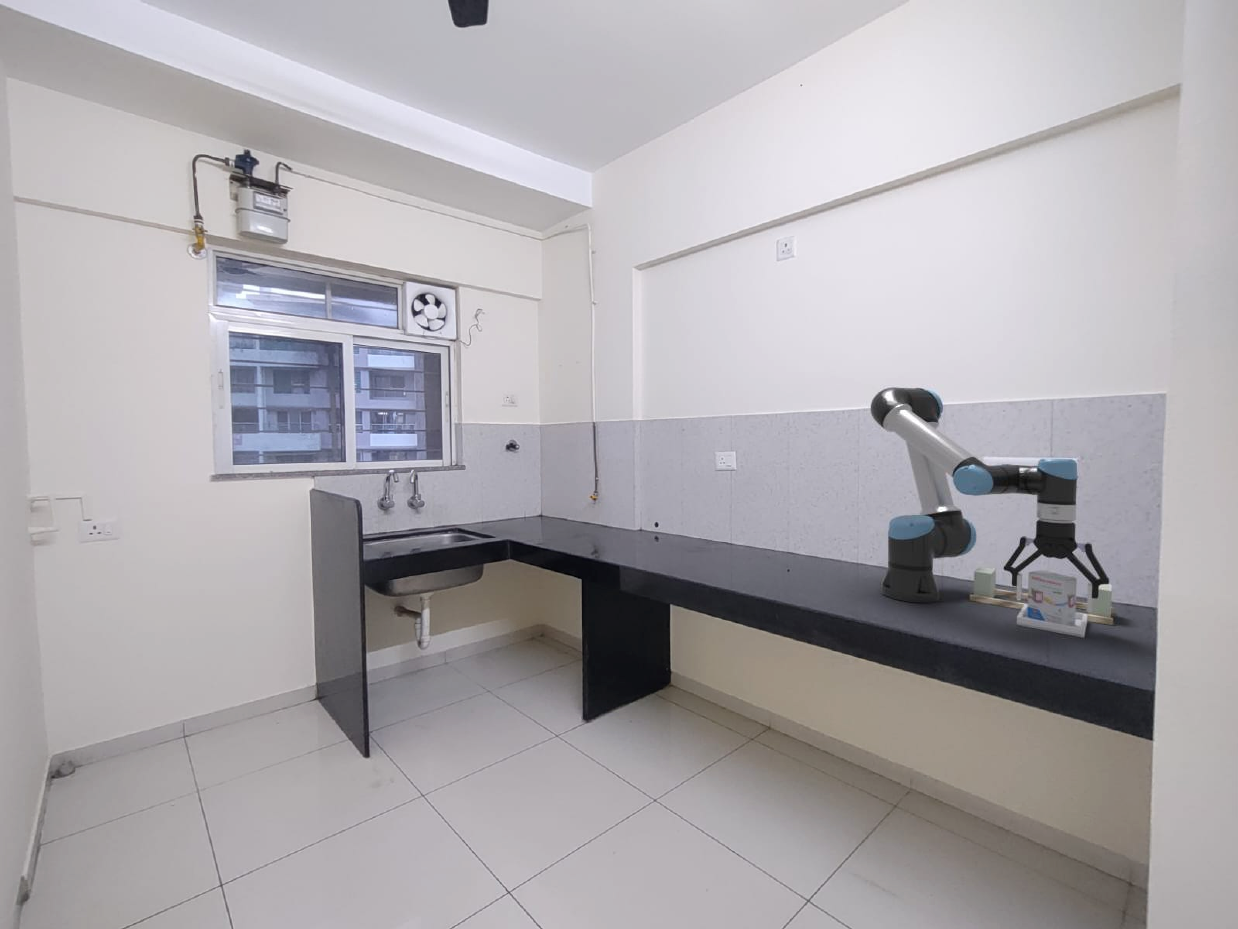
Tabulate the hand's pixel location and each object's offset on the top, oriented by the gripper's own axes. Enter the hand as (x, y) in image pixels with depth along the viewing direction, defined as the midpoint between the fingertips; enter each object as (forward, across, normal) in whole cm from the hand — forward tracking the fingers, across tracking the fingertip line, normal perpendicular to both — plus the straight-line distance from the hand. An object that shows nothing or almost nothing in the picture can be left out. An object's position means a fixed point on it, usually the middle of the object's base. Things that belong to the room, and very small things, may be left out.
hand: (1052, 605), depth 132 cm
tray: (+5, 0, 0) cm, 5 cm away
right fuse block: (+5, +8, +15) cm, 18 cm away
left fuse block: (+5, -16, +15) cm, 23 cm away
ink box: (+4, 0, 0) cm, 4 cm away
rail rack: (+5, -4, +15) cm, 16 cm away
